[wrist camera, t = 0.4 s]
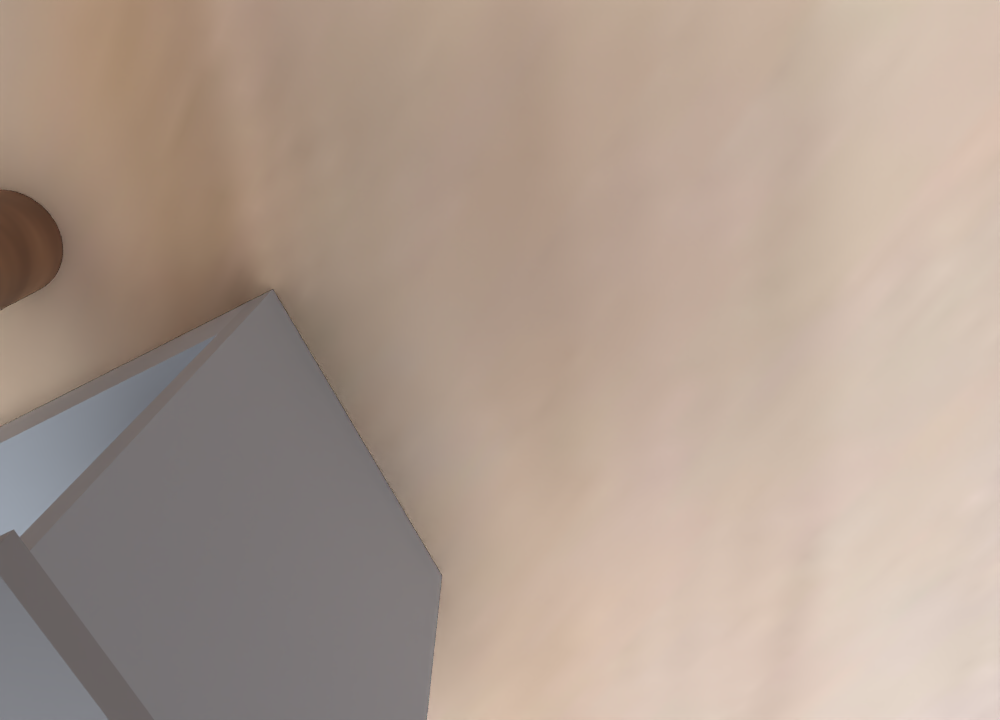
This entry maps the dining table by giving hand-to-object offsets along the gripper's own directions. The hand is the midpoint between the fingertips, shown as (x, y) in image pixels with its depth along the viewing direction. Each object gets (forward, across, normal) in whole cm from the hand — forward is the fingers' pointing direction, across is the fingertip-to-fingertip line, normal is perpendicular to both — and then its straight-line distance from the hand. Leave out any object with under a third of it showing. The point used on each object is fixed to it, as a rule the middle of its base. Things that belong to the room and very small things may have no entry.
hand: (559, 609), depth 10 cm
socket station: (+27, -17, -10) cm, 33 cm away
